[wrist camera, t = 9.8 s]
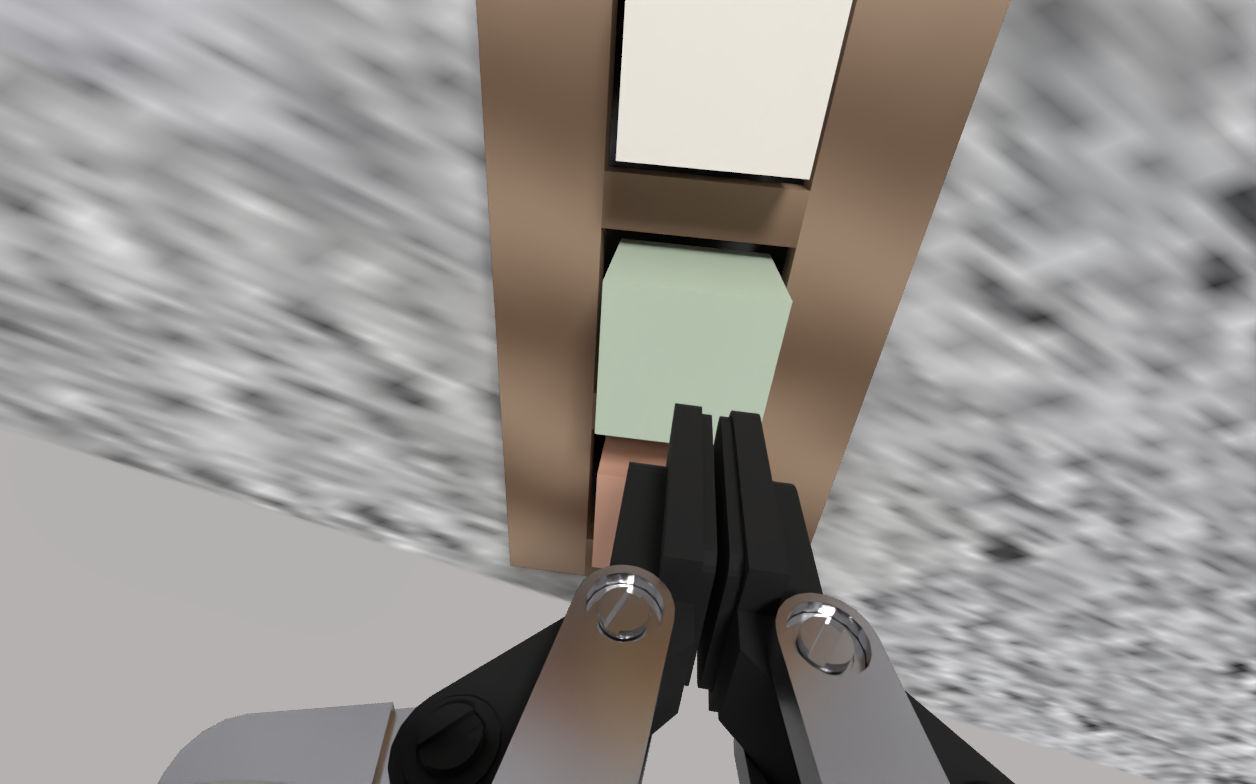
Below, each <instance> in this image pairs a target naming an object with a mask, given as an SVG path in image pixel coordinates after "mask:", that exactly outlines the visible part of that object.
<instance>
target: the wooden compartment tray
mask: <svg viewBox="0 0 1256 784" xmlns="http://www.w3.org/2000/svg"><path fill="white" fill-rule="evenodd" d="M1010 1H1011V0H853V1H852V5H851V9H850V13H849V17H848V22H847V26H846V30H845V34H844V38H843V42H842V46H841V51H840V55H839V59H838V63H837V67H836V71H835V75H834V80H833V84H832V88H831V92H830V96H829V100H828V104H827V109H826V113H825V117H824V121H823V125H822V129H821V133H820V138H819V142H818V146H817V150H816V154H815V158H814V162H813V167H812V171H811V175H810V179H804V184H803V185H798V184H788V183H778V182H768V181H757V180H747V179H737V178H726V177H716V176H706V175H696V174H685V173H675V172H665V171H654V170H644V169H634V168H624V167H613V166H609V156H610V137H611V118H612V99H613V80H614V61H615V43H616V24H617V5H618V0H476V7H477V24H478V40H479V57H480V73H481V90H482V106H483V122H484V139H485V155H486V172H487V188H488V205H489V221H490V238H491V254H492V270H493V287H494V303H495V320H496V336H497V353H498V369H499V386H500V402H501V419H502V435H503V451H504V468H505V484H506V501H507V517H508V534H509V550H510V566H516V567H523V568H531V569H538V570H545V571H553V572H560V573H568V574H575V575H582V576H589V575H591V574H592V573H593V572H595V571H597V570H599V569H602V568H597V567H592V555H593V538H594V521H595V504H596V495H592V478H593V459H594V440H595V419H596V400H597V381H598V362H599V343H600V324H601V305H602V286H603V270H604V251H605V232H606V228H608V229H618V230H628V231H637V232H647V233H657V234H666V235H676V236H686V237H696V238H705V239H715V240H725V241H734V242H744V243H754V244H763V245H773V246H783V247H788V251H787V255H786V260H785V264H784V268H783V272H782V276H781V278H782V280H783V282H784V285H785V287H786V289H787V291H788V293H789V295H790V297H791V299H792V301H793V302H792V306H791V310H790V313H789V317H788V321H787V325H786V329H785V333H784V337H783V341H782V345H781V349H780V353H779V357H778V361H777V364H776V368H775V372H774V376H773V380H772V384H771V388H770V392H769V396H768V400H767V404H766V408H765V412H764V416H763V419H762V428H763V433H764V438H765V443H766V449H767V454H768V459H769V465H770V470H771V475H772V480H773V481H776V482H783V483H790V484H793V485H795V487H796V489H797V492H798V496H799V500H800V504H801V508H802V512H803V516H804V520H805V524H806V528H807V532H808V536H809V540H810V544H811V542H812V539H813V536H814V533H815V531H816V528H817V525H818V523H819V520H820V517H821V514H822V512H823V509H824V506H825V504H826V501H827V498H828V495H829V493H830V490H831V487H832V485H833V482H834V479H835V476H836V474H837V471H838V468H839V466H840V463H841V460H842V457H843V455H844V452H845V449H846V446H847V444H848V441H849V438H850V436H851V433H852V430H853V427H854V425H855V422H856V419H857V417H858V414H859V411H860V408H861V406H862V403H863V400H864V398H865V395H866V392H867V389H868V387H869V384H870V381H871V379H872V376H873V373H874V370H875V368H876V365H877V362H878V360H879V357H880V354H881V351H882V349H883V346H884V343H885V341H886V338H887V335H888V332H889V330H890V327H891V324H892V322H893V319H894V316H895V313H896V311H897V308H898V305H899V303H900V300H901V297H902V294H903V292H904V289H905V286H906V284H907V281H908V278H909V275H910V273H911V270H912V267H913V265H914V262H915V259H916V256H917V254H918V251H919V248H920V246H921V243H922V240H923V237H924V235H925V232H926V229H927V227H928V224H929V221H930V218H931V216H932V213H933V210H934V207H935V205H936V202H937V199H938V197H939V194H940V191H941V188H942V186H943V183H944V180H945V178H946V175H947V172H948V169H949V167H950V164H951V161H952V159H953V156H954V153H955V150H956V148H957V145H958V142H959V140H960V137H961V134H962V131H963V129H964V126H965V123H966V121H967V118H968V115H969V112H970V110H971V107H972V104H973V102H974V99H975V96H976V93H977V91H978V88H979V85H980V83H981V80H982V77H983V74H984V72H985V69H986V66H987V64H988V61H989V58H990V55H991V53H992V50H993V47H994V45H995V42H996V39H997V36H998V34H999V31H1000V28H1001V26H1002V23H1003V20H1004V17H1005V15H1006V12H1007V9H1008V7H1009V4H1010Z"/></svg>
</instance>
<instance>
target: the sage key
mask: <svg viewBox="0 0 1256 784" xmlns="http://www.w3.org/2000/svg"><path fill="white" fill-rule="evenodd" d="M792 302H793V301H792V299H791V297H790V295H789V293H788V291H787V289H786V287H785V285H784V282H783V280H782V278H781V276H780V274H779V272H778V270H777V268H776V266H775V264H774V262H773V260H772V257H771V255H770V254H767V253H757V252H748V251H738V250H728V249H719V248H709V247H700V246H690V245H680V244H671V243H661V242H651V241H642V240H632V239H622V238H621V241H620V243H619V245H618V247H617V250H616V252H615V254H614V257H613V259H612V261H611V263H610V266H609V268H608V270H607V272H606V275H605V277H604V279H603V286H602V305H601V324H600V343H599V362H598V381H597V400H596V419H595V434H600V435H608V436H616V437H625V438H633V439H641V440H649V441H657V442H666V443H669V441H670V434H671V427H672V420H673V413H674V407H675V403H679V404H687V405H694V406H702V414H709V415H712V427H713V445H714V440H715V435H716V430H717V425H718V420H719V417H720V416H724V417H729V415H730V412H731V410H733V411H741V412H749V413H757V414H760V417H761V422H762V419H763V416H764V412H765V408H766V404H767V400H768V396H769V392H770V388H771V384H772V380H773V376H774V372H775V368H776V364H777V361H778V357H779V353H780V349H781V345H782V341H783V337H784V333H785V329H786V325H787V321H788V317H789V313H790V310H791V306H792Z"/></svg>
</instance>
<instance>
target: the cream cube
mask: <svg viewBox="0 0 1256 784" xmlns="http://www.w3.org/2000/svg"><path fill="white" fill-rule="evenodd" d="M852 1H853V0H625V12H624V29H623V46H622V63H621V80H620V97H619V114H618V131H617V148H616V161H622V162H633V163H643V164H653V165H664V166H674V167H684V168H695V169H705V170H715V171H726V172H736V173H747V174H757V175H767V176H778V177H788V178H798V179H810V175H811V171H812V167H813V162H814V158H815V154H816V150H817V146H818V142H819V138H820V133H821V129H822V125H823V121H824V117H825V113H826V109H827V104H828V100H829V96H830V92H831V88H832V84H833V80H834V75H835V71H836V67H837V63H838V59H839V55H840V51H841V46H842V42H843V38H844V34H845V30H846V26H847V22H848V17H849V13H850V9H851V5H852Z"/></svg>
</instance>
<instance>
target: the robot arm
mask: <svg viewBox="0 0 1256 784" xmlns="http://www.w3.org/2000/svg"><path fill="white" fill-rule="evenodd" d="M696 653H697V684H698V688H703V689H709V711H714V712H718V716H719V717H718V718H719V721H720V722H721V723H722V724H723V726H724V727H725V728H726V729H727V730H728V731H729V732H730V734H731V735H732V736H733V737H734V756H735V762H736V767H737V771H738V778H739V783H740V784H1015V783H1013V782H1012V781H1011V780H1010V779H1009V778H1007V777H1006V776H1005V775H1004V774H1002V773H1001V772H1000V771H999V770H998V769H997V768H996V767H994V766H993V765H992V764H991V763H990V762H989V761H987V760H986V759H985V758H984V757H983V756H981V755H980V754H979V753H977V751H976V750H974V749H973V748H972V747H971V746H970V745H968V744H967V743H966V742H965V741H964V740H962V739H961V738H960V737H959V736H958V735H957V734H955V733H954V732H953V731H952V730H951V729H950V728H948V727H947V726H946V725H945V724H944V723H942V722H941V721H940V720H939V719H938V718H937V717H935V716H934V715H933V714H932V713H931V712H929V711H928V710H927V709H926V708H925V707H924V706H922V705H921V704H920V703H919V702H918V701H916V700H915V699H914V698H913V697H912V696H911V695H909V694H908V693H907V692H906V691H905V690H904V688H903V686H902V684H901V682H900V680H899V678H898V676H897V674H896V672H895V670H894V668H893V666H892V664H891V662H890V660H889V657H888V655H887V653H886V651H885V649H884V647H883V645H882V643H881V641H880V639H879V637H878V636H877V634H876V633H875V631H874V629H873V628H872V626H871V625H870V623H869V622H868V621H867V620H866V619H865V618H864V617H863V616H862V615H861V614H859V613H858V612H857V611H856V610H855V609H853V608H852V607H850V606H849V605H847V604H846V603H844V602H842V601H840V600H838V599H835V598H833V597H830V596H828V595H823V593H822V589H821V585H820V581H819V577H818V573H817V569H816V565H815V561H814V557H813V553H812V549H811V545H810V540H809V536H808V532H807V528H806V524H805V520H804V516H803V512H802V508H801V504H800V500H799V496H798V492H797V489H796V487H795V485H793V484H790V483H783V482H776V481H773V480H772V475H771V470H770V465H769V459H768V454H767V449H766V443H765V438H764V433H763V428H762V422H761V417H760V414H757V413H749V412H741V411H733V410H731V412H730V415H729V417H724V416H720V417H719V420H718V425H717V430H716V435H715V440H714V445H713V427H712V415H709V414H702V406H694V405H687V404H679V403H675V407H674V413H673V420H672V427H671V434H670V441H669V447H668V454H667V461H666V466H658V465H651V464H644V463H636V462H629V466H628V471H627V476H626V481H625V487H624V492H623V497H622V502H621V508H620V513H619V518H618V523H617V529H616V534H615V539H614V544H613V550H612V555H611V560H610V565H609V566H607V567H604V568H602V569H599V570H597V571H595V572H593V573H592V574H591V575H589V576H588V577H587V578H586V579H584V580H583V582H582V583H581V585H580V586H579V588H578V589H577V591H576V593H575V595H574V598H573V600H572V602H571V605H570V607H569V609H568V611H567V614H566V616H565V617H564V618H562V619H560V620H559V621H557V622H555V623H553V624H552V625H550V626H548V627H547V628H545V629H543V630H542V631H540V632H538V633H537V634H535V635H533V636H532V637H530V638H528V639H526V640H525V641H524V642H522V643H520V644H518V645H516V646H515V647H513V648H511V649H510V650H508V651H506V652H505V653H503V654H501V655H500V656H498V657H496V658H495V659H493V660H491V661H490V662H488V663H486V664H484V665H483V666H481V667H479V668H478V669H476V670H474V671H473V672H471V673H469V674H467V675H466V676H464V677H462V678H461V679H459V680H457V681H456V682H454V683H452V684H451V685H449V686H447V687H446V688H444V689H442V690H441V691H439V692H437V693H436V694H434V695H432V696H431V697H429V698H428V699H427V700H425V701H424V702H423V703H422V704H420V705H419V706H418V707H416V708H406V709H394V705H393V702H390V703H378V704H365V705H353V706H340V707H328V708H315V709H303V710H290V711H277V712H266V713H252V714H245V715H241V716H237V717H233V718H229V719H225V720H224V721H221V722H219V723H218V724H216V725H214V726H212V727H210V728H208V729H206V730H205V731H203V732H201V733H200V734H199V735H198V736H197V737H196V738H194V739H193V740H192V741H191V742H190V743H189V744H187V745H186V746H185V747H184V748H183V749H182V750H181V751H180V752H179V753H178V755H177V756H176V757H175V759H174V760H173V761H172V763H171V764H170V765H169V767H168V768H167V769H166V771H165V772H164V774H163V775H162V777H161V779H160V781H159V782H158V784H642V779H643V775H644V770H645V766H646V761H647V757H648V752H649V747H650V743H651V738H652V734H653V733H654V732H655V731H657V730H658V729H659V728H660V727H661V726H663V725H664V724H665V723H666V722H667V721H669V720H670V719H671V718H672V717H673V716H675V715H676V714H677V713H678V710H679V705H680V701H681V697H682V692H683V688H684V685H685V686H688V685H689V682H690V678H691V673H692V669H693V665H694V661H695V657H696Z"/></svg>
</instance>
